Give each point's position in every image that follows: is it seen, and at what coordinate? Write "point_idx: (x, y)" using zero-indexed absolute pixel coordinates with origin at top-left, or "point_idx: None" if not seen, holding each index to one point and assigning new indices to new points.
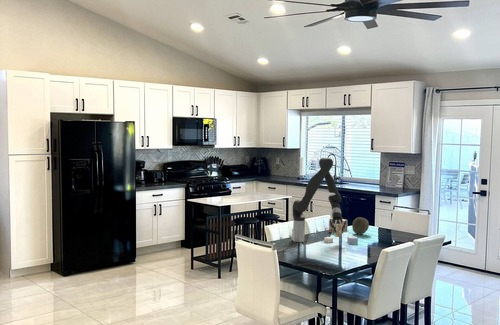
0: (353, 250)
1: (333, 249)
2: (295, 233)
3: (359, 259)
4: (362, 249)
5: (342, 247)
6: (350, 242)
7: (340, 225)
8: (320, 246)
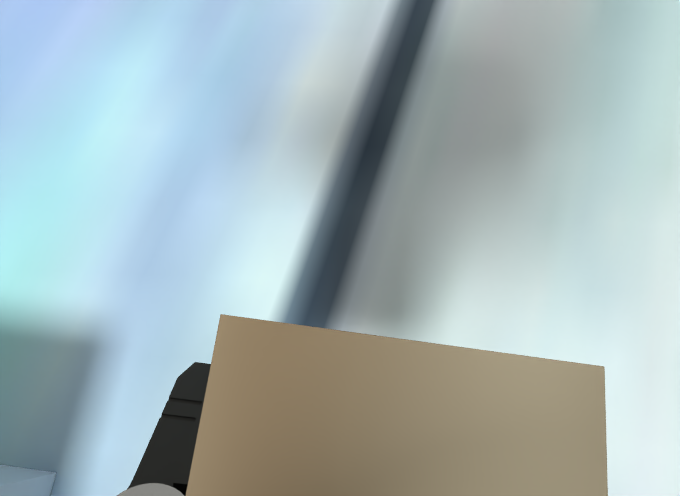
0: (204, 5)
1: (497, 82)
2: None
3: None
4: (17, 45)
5: (312, 190)
6: (6, 471)
7: (316, 334)
8: (673, 275)
